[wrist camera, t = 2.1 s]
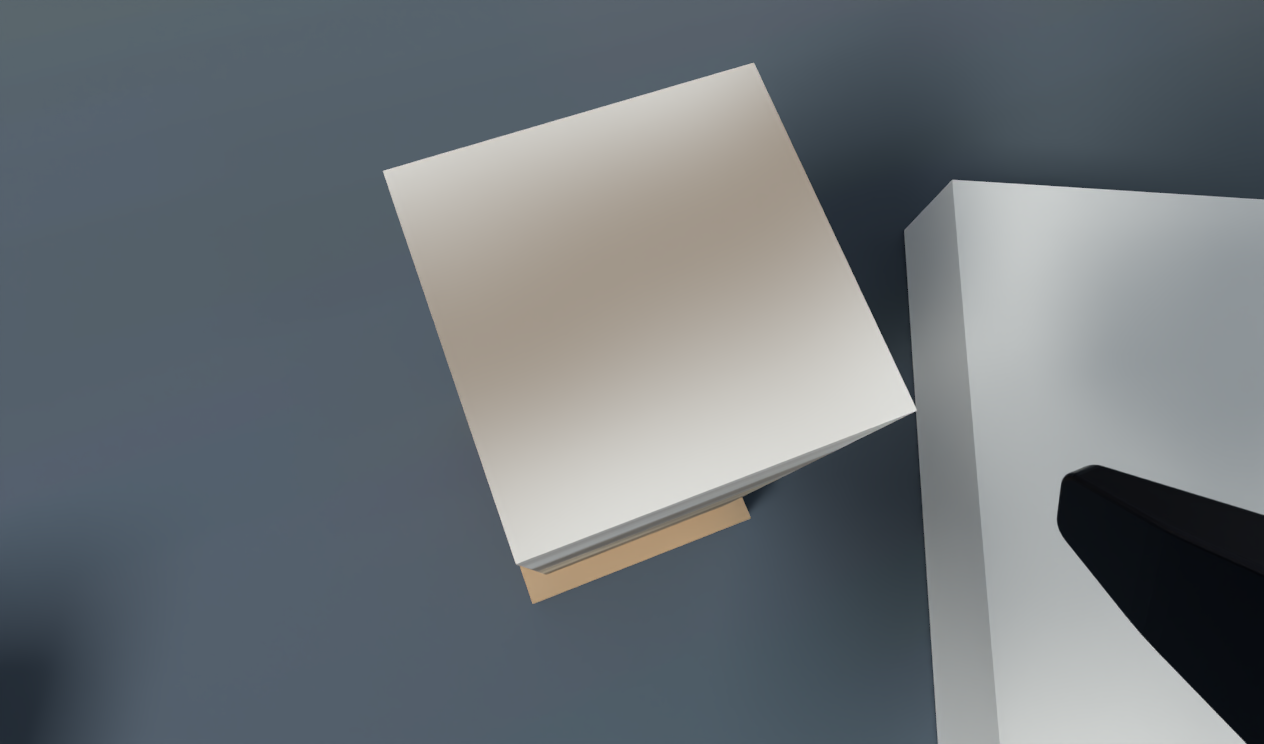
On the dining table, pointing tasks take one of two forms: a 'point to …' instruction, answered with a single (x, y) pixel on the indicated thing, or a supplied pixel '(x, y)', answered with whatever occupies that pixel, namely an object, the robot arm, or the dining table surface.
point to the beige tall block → (642, 321)
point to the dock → (1072, 437)
